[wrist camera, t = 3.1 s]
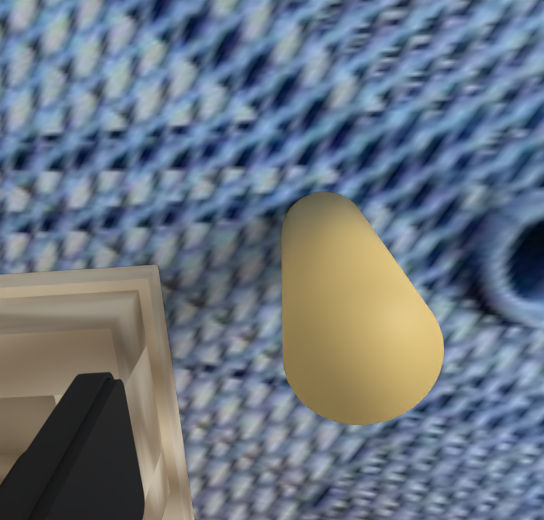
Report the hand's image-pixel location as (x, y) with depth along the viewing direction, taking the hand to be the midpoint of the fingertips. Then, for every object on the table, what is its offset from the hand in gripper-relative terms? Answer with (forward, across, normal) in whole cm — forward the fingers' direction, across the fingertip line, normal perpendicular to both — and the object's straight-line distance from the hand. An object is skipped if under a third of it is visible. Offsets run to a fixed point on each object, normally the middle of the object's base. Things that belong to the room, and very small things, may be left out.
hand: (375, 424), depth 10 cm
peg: (+15, 0, +1) cm, 15 cm away
